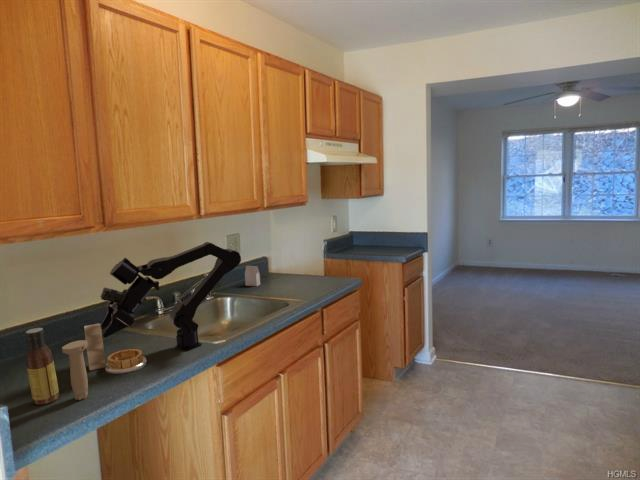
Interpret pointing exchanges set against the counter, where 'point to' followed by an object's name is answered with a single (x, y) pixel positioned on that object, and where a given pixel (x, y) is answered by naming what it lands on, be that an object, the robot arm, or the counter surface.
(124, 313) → the robot arm
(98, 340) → the post
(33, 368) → the sauce bottle
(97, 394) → the counter surface
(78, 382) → the handle
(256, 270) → the small carton
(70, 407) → the counter surface
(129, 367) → the segmented gold bowl
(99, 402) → the counter surface
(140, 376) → the counter surface
